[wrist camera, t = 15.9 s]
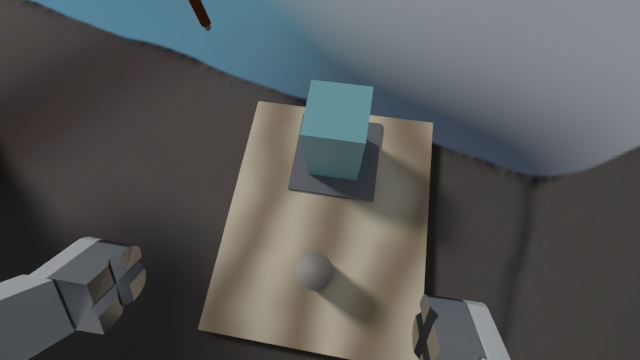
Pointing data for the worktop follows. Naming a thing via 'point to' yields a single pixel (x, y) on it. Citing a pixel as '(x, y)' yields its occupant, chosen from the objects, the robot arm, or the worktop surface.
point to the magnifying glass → (201, 13)
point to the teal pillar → (335, 128)
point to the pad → (337, 186)
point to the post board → (324, 248)
